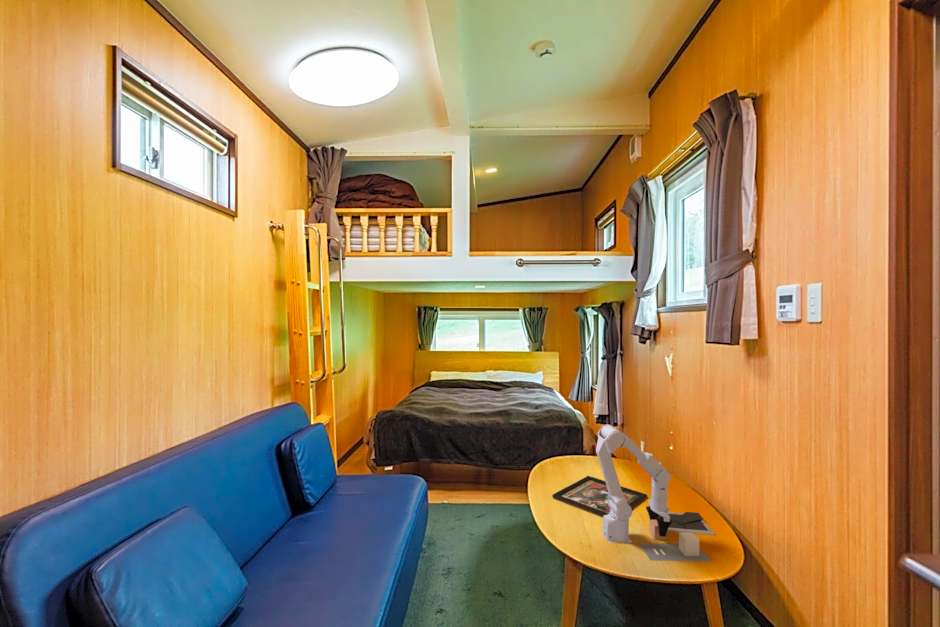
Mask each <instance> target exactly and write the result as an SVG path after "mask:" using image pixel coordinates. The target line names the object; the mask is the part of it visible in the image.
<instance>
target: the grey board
mask: <svg viewBox="0 0 940 627" xmlns="http://www.w3.org/2000/svg"><path fill="white" fill-rule="evenodd" d="M638 545H639V547H641V549H642V550H643V552H644V553H645V555H646V556H647V557H648V558H649V561H660V562H663V561H664V562H666V561H667V562H711V563H712V560H711V559H710V558H709V557H708V555H707V554H706V553H705V552H704V551H703V550H702V549H701V547H699V556H685V555H684V554H683V553H682V552H681V550H680V549H679V543H642V542H641V543H640V542H639V543H638Z"/></svg>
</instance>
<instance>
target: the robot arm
mask: <svg viewBox="0 0 940 627" xmlns="http://www.w3.org/2000/svg"><path fill="white" fill-rule="evenodd" d="M597 436H598V438H597V443H596V448H595V452H596V455H597V460H598V462H599V466H600V469H601V473H602V475H603V476H602V477H603V479H604V481H605V482H606V486H607V489H608V493H607V495H608V506H609V507H610V514H608V515H604V516H603V518H602V530H601V533H602V535H603V537H604V538H605V539H606V541H607V543H626V544H627V543H629V544H632V543H633V541H632V540H631V538H630V537H629V536H630V535H629V529H630V528H629V526H630V518H631V517H632V515H633V509H632V508H631V507H630V506H629V505H628V503H627V500H626V498H625V496H624V495H623V493H622V490H621V487H620V486H621V484H620V480H619V477H618V474H617V471H616V467H615V465H614V461H613V458H612V454H613V453H614V452H615V451H616V450H617V449H618V448H620V447H621V448H626V449H627V450H628V451H629V452H631V453H632V454H633V455H634V456H635V457H636V458H637V463H638V465H639V466H641V467H642V469H643V470H645V471H646V472H647V473H648V474H649V476H650V477H651V490H650V491H651V495H650V496H651V498H650V499H648V505H649V506H645V510H646V511H647V513H648V517H649V521H650V520H657V523H658V527H659V535H660V536H663V537H665V536H666V533H667V530H668V528H669V526H670V525H671V523H672V520H671V519H670V516H669V515H668V512H670V508H669V506H668V486H669V483H670V481H671V479H672V476H671V475H670V472H669V471H668V470H667V468H665V467H664V466H663V464H662V462H659V461H657V459H656V458H654V457H655V456H654V454H653V453H649V452H646V451H645V452H643V450H642V449H641V448H640V447H639V446H638V445H637V444H636V443H635V442H634V441H633V440H632V439H631V438H630V437H628V436H627V435H626V434H624V433H623V432H622V431H620V430H618V429H617V428H615V427H614V426H613V425H612V424H604V425H602V426H601V427H600V429H599V430H598V432H597ZM659 515H661V518H658V517H659ZM667 534H668V533H667Z"/></svg>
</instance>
